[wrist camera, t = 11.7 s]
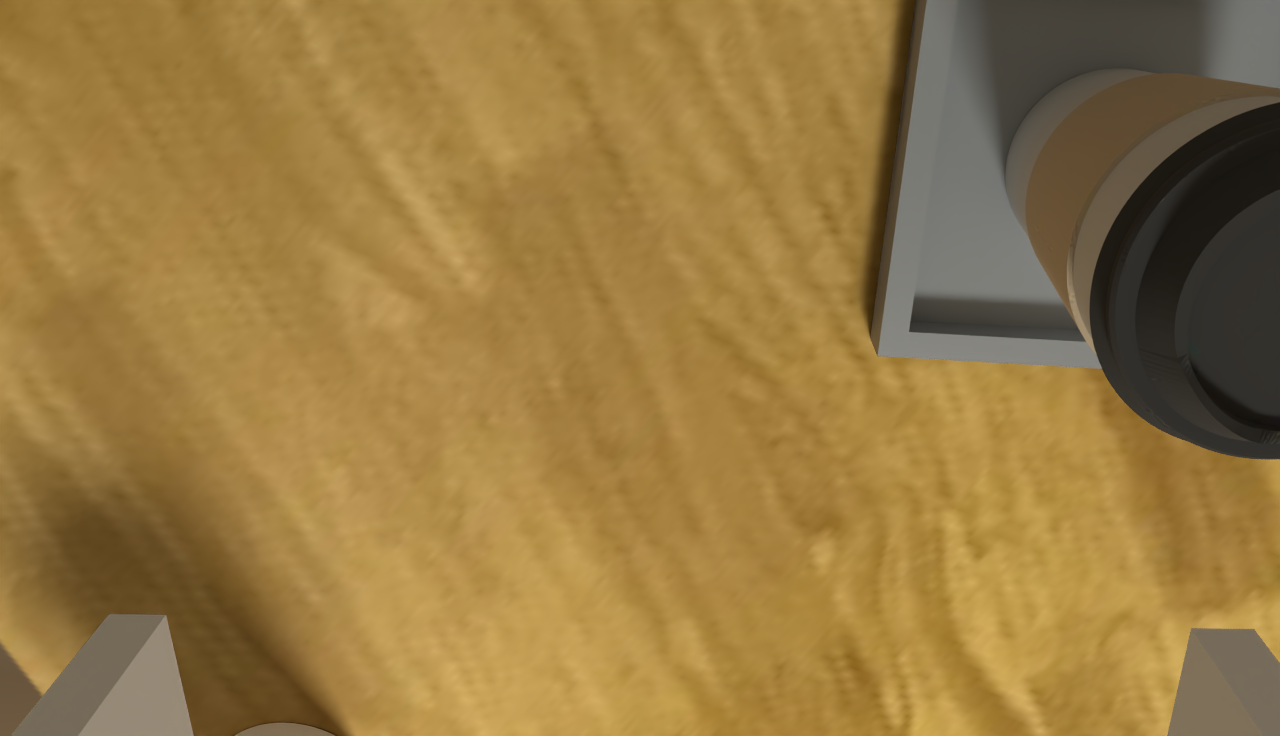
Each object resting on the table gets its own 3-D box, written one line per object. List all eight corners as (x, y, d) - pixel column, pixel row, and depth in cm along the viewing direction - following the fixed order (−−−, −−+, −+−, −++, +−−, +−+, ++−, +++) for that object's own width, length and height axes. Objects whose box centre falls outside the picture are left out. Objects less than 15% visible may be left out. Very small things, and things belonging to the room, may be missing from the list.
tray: (923, -56, 36) (934, -54, 35) (1352, -36, 36) (1384, -33, 34) (870, 338, 42) (877, 356, 40) (1242, 358, 42) (1264, 377, 40)
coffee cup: (1113, -26, 36) (1373, 26, 22) (1297, 146, 38) (1642, 292, 24) (919, 188, 39) (1041, 350, 25) (1098, 337, 41) (1302, 563, 27)
